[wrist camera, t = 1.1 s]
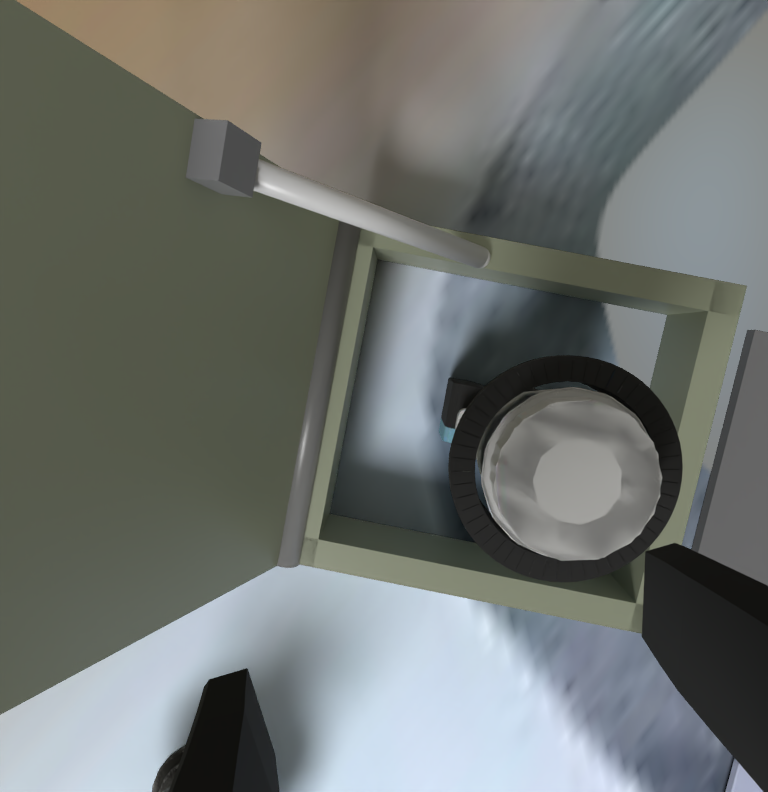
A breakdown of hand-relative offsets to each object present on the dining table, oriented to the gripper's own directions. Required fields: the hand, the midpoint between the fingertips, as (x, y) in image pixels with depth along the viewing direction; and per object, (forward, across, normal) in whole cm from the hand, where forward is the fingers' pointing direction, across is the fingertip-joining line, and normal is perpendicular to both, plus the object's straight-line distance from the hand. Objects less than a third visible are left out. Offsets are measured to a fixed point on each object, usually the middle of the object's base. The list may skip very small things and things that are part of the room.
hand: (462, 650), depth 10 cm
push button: (+12, -6, +2) cm, 14 cm away
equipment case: (+13, -3, +1) cm, 13 cm away
